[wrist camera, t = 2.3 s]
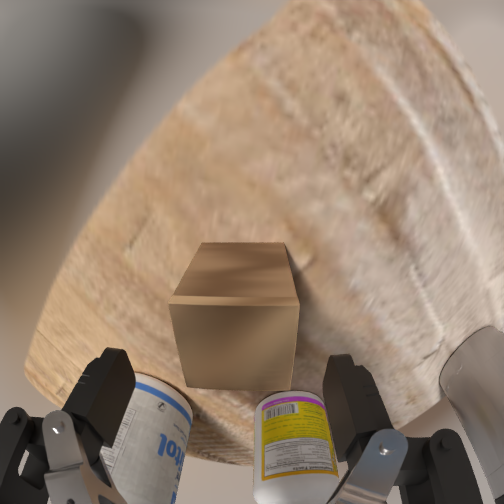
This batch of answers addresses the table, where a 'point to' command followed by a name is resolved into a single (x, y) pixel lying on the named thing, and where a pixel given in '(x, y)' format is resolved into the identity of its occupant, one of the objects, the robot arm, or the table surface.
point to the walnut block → (236, 318)
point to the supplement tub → (150, 444)
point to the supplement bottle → (293, 450)
